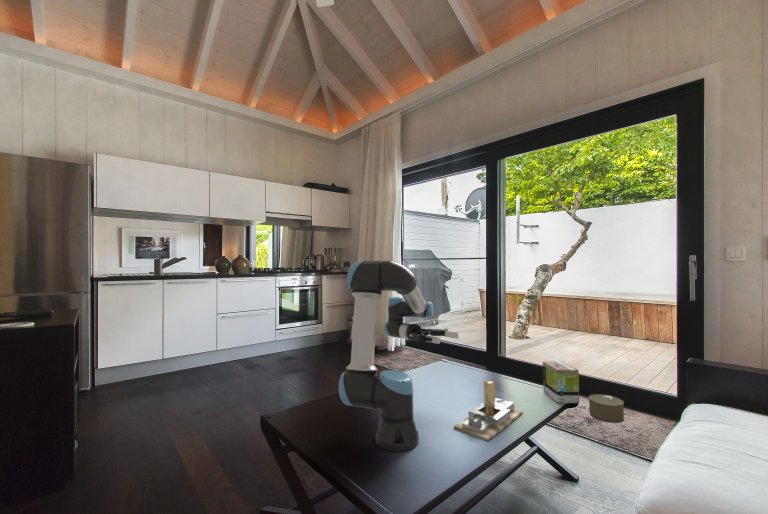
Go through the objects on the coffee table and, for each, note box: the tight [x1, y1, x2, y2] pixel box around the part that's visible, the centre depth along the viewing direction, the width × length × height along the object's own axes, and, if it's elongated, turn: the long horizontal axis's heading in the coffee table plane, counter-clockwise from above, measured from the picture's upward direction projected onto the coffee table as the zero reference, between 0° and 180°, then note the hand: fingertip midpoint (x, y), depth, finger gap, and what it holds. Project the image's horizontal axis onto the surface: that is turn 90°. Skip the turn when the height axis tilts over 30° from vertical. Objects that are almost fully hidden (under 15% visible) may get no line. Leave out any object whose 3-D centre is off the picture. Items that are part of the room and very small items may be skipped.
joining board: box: [453, 408, 524, 442], centre depth 137 cm, size 30×14×1 cm, turn 137°
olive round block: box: [588, 393, 625, 424], centre depth 139 cm, size 12×12×7 cm
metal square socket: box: [462, 397, 515, 434], centre depth 137 cm, size 28×12×3 cm, turn 137°
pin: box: [483, 380, 496, 416], centre depth 137 cm, size 4×4×14 cm
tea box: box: [542, 360, 580, 404], centre depth 161 cm, size 15×10×15 cm, turn 179°
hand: (448, 337), depth 148 cm, fingers open, 13 cm apart
